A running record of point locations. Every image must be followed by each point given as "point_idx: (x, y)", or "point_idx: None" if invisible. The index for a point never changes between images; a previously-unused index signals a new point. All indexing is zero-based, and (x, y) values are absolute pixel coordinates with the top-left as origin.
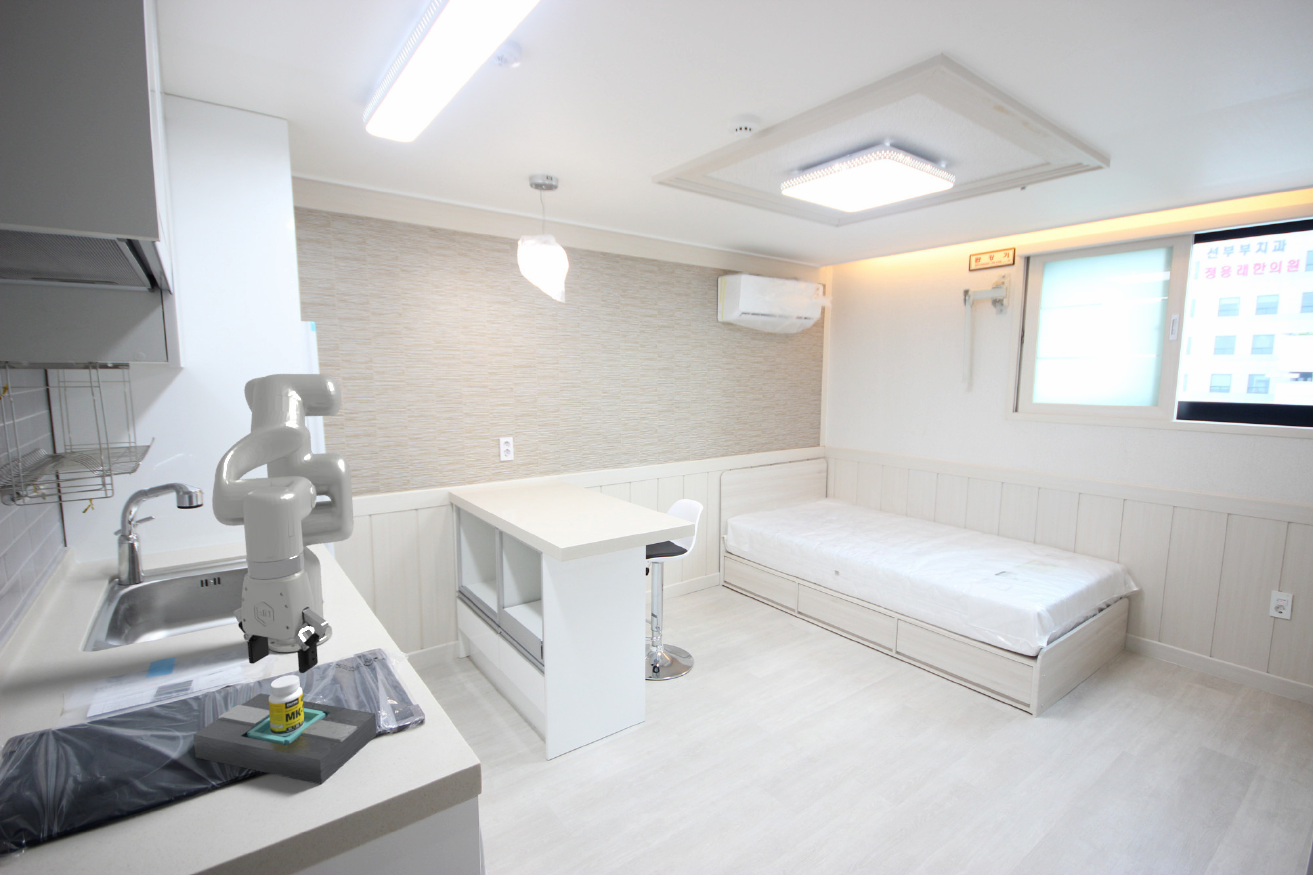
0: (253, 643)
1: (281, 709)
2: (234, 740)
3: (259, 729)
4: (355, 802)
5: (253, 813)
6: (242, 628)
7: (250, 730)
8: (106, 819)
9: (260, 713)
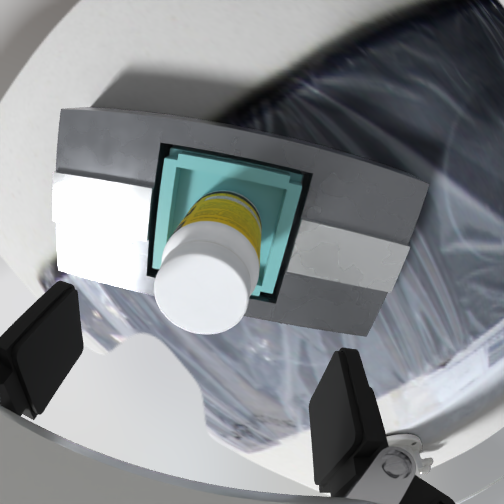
0: (349, 435)
1: (195, 215)
2: (316, 155)
3: (282, 204)
4: (25, 85)
5: (166, 19)
6: (432, 498)
7: (298, 193)
8: (431, 17)
9: (315, 261)
